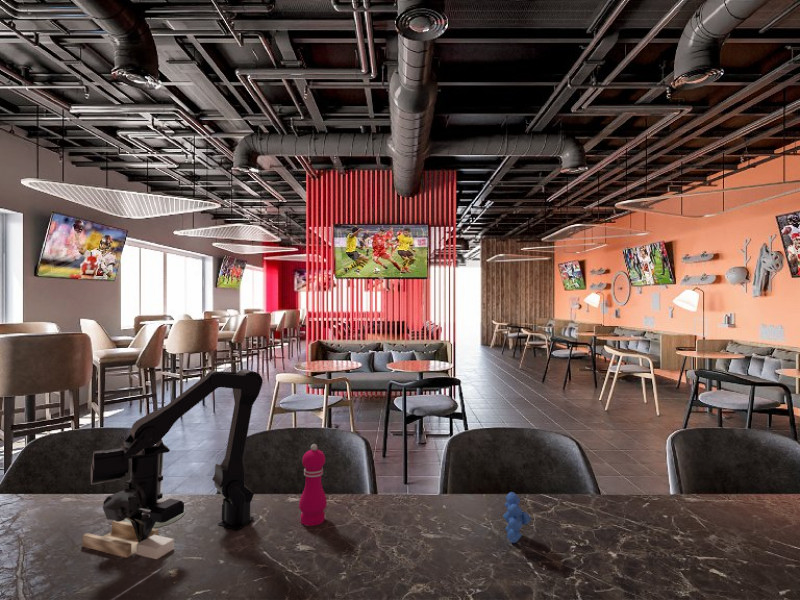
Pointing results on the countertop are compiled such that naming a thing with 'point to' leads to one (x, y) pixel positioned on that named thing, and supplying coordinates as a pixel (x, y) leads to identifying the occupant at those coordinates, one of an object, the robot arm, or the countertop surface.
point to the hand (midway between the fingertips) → (142, 543)
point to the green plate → (164, 522)
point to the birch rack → (116, 540)
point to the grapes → (514, 517)
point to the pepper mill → (313, 488)
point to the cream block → (155, 546)
